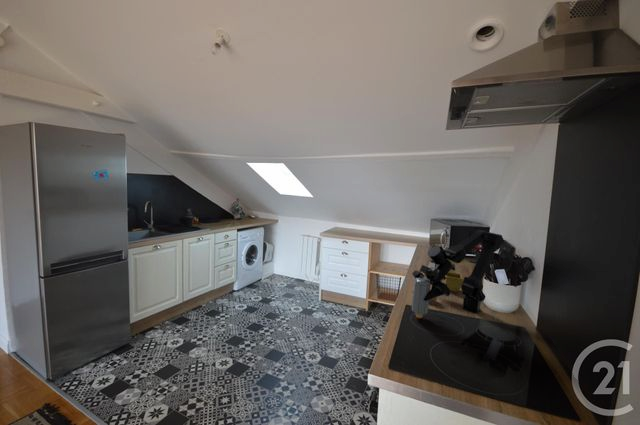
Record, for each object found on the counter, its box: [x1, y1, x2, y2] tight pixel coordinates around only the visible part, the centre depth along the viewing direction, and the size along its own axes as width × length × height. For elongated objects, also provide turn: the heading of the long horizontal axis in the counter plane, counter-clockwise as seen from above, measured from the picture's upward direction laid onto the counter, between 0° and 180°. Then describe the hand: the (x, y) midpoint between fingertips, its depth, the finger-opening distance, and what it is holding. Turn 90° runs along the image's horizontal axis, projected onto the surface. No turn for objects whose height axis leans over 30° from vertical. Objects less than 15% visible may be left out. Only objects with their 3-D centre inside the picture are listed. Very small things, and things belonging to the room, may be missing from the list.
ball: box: [414, 312, 424, 319], centre depth 124 cm, size 3×3×3 cm
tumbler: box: [411, 278, 432, 315], centre depth 123 cm, size 6×6×14 cm
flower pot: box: [444, 271, 464, 293], centre depth 160 cm, size 9×9×9 cm
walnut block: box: [429, 297, 438, 305], centre depth 143 cm, size 5×5×5 cm
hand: (418, 296), depth 123 cm, fingers closed on tumbler, 7 cm apart
